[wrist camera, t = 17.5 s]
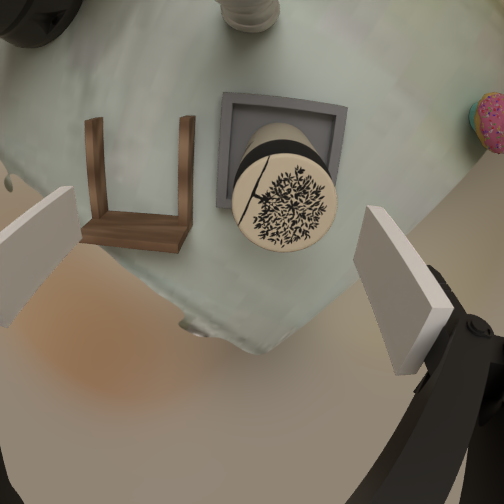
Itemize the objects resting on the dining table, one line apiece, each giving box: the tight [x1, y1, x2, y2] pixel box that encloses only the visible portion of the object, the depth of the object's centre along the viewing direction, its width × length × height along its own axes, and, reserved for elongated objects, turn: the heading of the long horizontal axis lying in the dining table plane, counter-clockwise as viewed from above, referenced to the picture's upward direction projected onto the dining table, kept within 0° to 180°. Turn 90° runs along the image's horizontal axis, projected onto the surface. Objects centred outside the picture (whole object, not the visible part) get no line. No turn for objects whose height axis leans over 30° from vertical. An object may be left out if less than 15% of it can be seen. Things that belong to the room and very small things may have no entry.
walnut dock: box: [78, 116, 195, 253], centre depth 37 cm, size 15×14×8 cm
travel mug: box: [232, 122, 337, 252], centre depth 30 cm, size 8×8×18 cm
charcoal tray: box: [216, 92, 348, 209], centre depth 37 cm, size 14×14×2 cm
